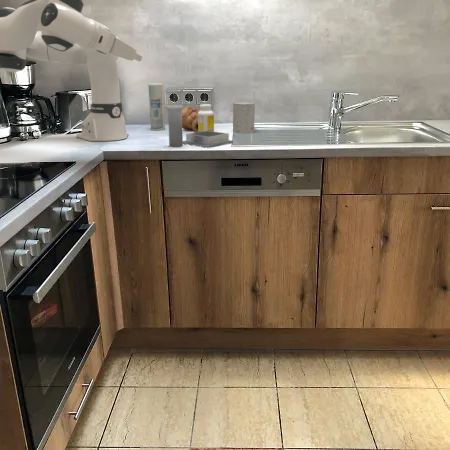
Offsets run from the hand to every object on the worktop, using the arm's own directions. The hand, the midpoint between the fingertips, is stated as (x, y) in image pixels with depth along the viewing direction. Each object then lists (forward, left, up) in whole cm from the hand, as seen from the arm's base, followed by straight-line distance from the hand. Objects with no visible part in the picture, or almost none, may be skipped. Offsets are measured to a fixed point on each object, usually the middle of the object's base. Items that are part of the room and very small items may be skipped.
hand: (133, 56), depth 162 cm
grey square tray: (+3, +31, -32) cm, 45 cm away
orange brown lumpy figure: (-22, +50, -32) cm, 63 cm away
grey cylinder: (-5, +63, -32) cm, 71 cm away
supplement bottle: (-9, +43, -32) cm, 55 cm away
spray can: (-38, +42, -32) cm, 65 cm away
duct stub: (-2, +19, -32) cm, 37 cm away
